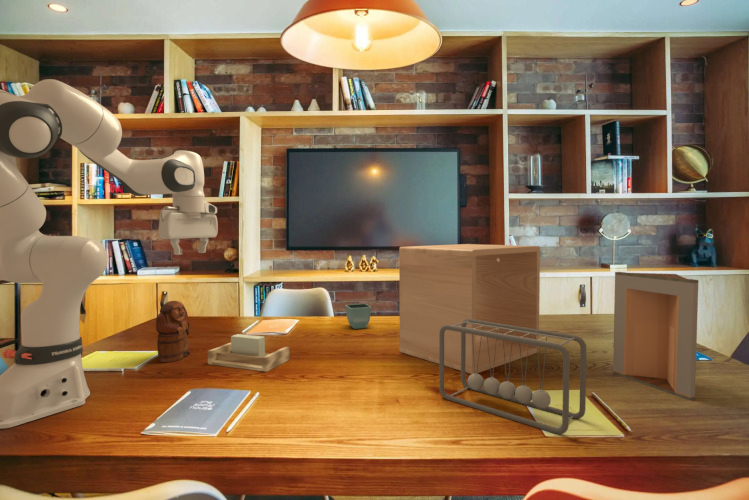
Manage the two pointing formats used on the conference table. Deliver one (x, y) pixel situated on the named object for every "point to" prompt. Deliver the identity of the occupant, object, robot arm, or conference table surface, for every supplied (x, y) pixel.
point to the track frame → (247, 359)
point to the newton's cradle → (522, 392)
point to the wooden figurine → (172, 332)
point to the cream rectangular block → (248, 345)
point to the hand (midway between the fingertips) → (190, 253)
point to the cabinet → (656, 331)
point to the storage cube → (468, 300)
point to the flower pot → (358, 315)
